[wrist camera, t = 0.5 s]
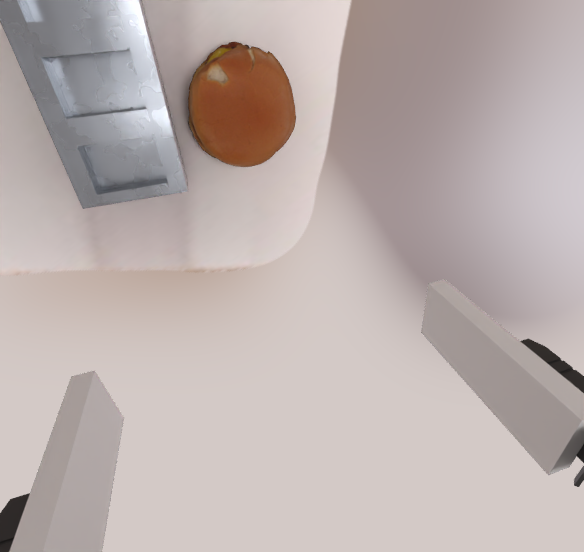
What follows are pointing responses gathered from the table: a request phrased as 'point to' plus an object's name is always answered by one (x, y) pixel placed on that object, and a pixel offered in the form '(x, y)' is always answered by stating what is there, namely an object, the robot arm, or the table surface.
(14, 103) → the table surface
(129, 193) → the grey compartment tray
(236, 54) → the burger
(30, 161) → the table surface
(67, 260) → the table surface
